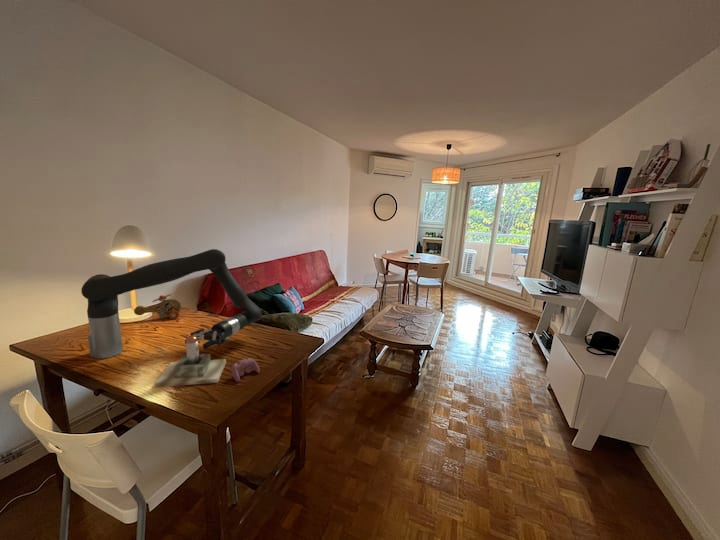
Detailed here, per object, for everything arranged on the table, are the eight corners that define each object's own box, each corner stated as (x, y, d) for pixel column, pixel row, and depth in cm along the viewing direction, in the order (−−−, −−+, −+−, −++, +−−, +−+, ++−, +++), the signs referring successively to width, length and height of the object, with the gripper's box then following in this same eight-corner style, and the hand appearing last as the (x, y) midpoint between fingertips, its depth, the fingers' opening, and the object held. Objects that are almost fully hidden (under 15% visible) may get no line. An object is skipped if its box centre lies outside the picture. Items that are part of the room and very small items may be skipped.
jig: (155, 387, 99) (154, 372, 98) (171, 365, 113) (170, 352, 111) (217, 382, 104) (217, 369, 103) (226, 362, 117) (225, 350, 116)
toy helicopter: (181, 318, 157) (179, 294, 154) (134, 324, 146) (131, 299, 143) (181, 313, 164) (179, 290, 161) (136, 318, 153) (133, 294, 150)
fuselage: (185, 373, 106) (183, 338, 103) (189, 367, 110) (187, 334, 107) (197, 372, 107) (195, 338, 104) (201, 366, 110) (199, 333, 108)
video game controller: (255, 372, 114) (251, 355, 115) (261, 372, 112) (256, 354, 112) (232, 383, 107) (227, 365, 107) (237, 382, 104) (232, 364, 104)
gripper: (212, 317, 123) (179, 332, 108) (239, 323, 119) (209, 339, 104) (213, 333, 125) (180, 350, 110) (240, 339, 121) (210, 357, 106)
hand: (194, 344), depth 107 cm, fingers open, 8 cm apart
